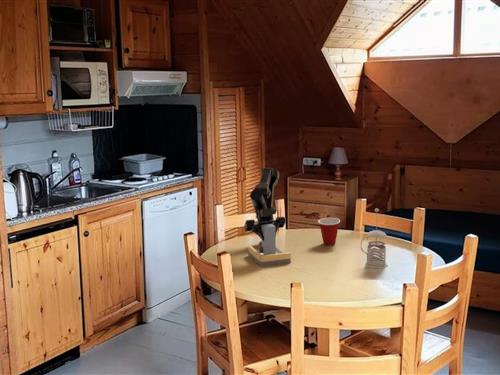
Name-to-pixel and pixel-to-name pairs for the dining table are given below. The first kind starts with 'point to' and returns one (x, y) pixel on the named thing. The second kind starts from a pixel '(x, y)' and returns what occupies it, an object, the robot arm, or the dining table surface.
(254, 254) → the wooden frame
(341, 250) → the dining table surface
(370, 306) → the dining table surface
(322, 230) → the plastic cup
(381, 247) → the french press
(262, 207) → the robot arm
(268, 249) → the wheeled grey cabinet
